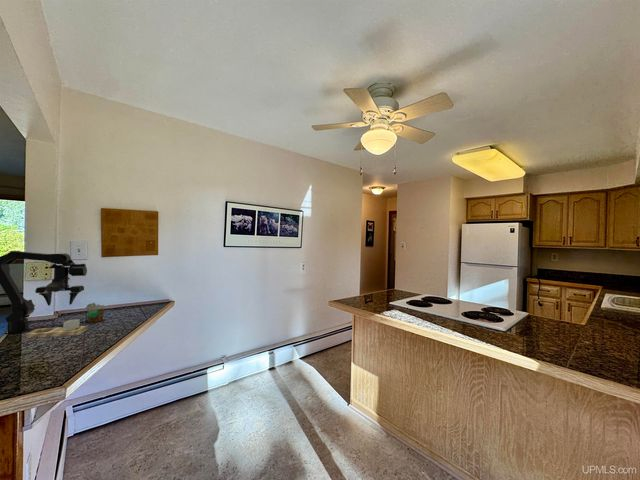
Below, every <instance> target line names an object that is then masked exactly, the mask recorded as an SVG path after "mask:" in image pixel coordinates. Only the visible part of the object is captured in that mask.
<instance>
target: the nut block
mask: <svg viewBox="0 0 640 480" xmlns="http://www.w3.org/2000/svg"><path fill="white" fill-rule="evenodd" d="M80 319H81V318H80ZM80 319H68V320H66V321H64V322H63V326H62V327H63V331H72V330H77V329H79V326H80Z"/></svg>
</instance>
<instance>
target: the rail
mask: <svg viewBox="0 0 640 480" xmlns="http://www.w3.org/2000/svg"><path fill="white" fill-rule="evenodd" d="M88 330H89V328H88V325H81V326H80V325H79V329H77V330H72V331H63V326H62V327H60V326H59V327H46V328H36V329H33V330H32V331H30V332H27V333H26V334H24V339H25V338H26V339H36V338H35V337H40V338H51V337H52V338H53V337H65V336H79V335H81V334H83V333H84V332H86V331H88Z"/></svg>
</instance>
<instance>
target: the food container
mask: <svg viewBox="0 0 640 480" xmlns="http://www.w3.org/2000/svg"><path fill="white" fill-rule="evenodd" d="M85 309H86V313H87V323H89V324H95V323H103V321H104V311H105V305H104V304H101V305H100V304H96V303H95V302H92V303H89V304H88V303H87V304H86V307H85Z"/></svg>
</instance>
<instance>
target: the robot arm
mask: <svg viewBox="0 0 640 480" xmlns="http://www.w3.org/2000/svg"><path fill="white" fill-rule="evenodd" d="M18 259H19V260H29V261H30V260H33V261H42V262H47V263H52V265H51V266H48V269H53V278H52V280H51V282H50V283H48V284H47V285H46V286H44V285H43V286H39V287H36V289H35V290H34V291H35V294H38V295H39V296H40V295H41V296H42V297H43V298H44V300H45V302H46V304H47V306H48V307H49V306H51V304H52V295H53V293H58V292H67V291H68V294H69V306H71V305H72V304H73V302H74V301H75V299H76V298H77V296H78V294H79V293H81V292H83V291H85V286H84V285H73V286H71V287H70V284H69V280H70V279H71V278H70V277H69V276H71V277H85V276H87V273H88V269H87V264H86V263H75V262H74V261H73V260H72V257H71V255H70V254H68V253H67V252H66V253H62V252H61V253H42V252H30V251H29V252H28V251H20V250H11V251H9V252H7V253H5V254H2V255H0V286H1V288H2V290H3V292H4V294H5V295H6V297H7V298H8V300H9V301H10V309H11V313H10V314H9V315H7V316H6V317H5V321H6V323H7V331H6V332H4V334H5V335H7V334H21V333H23V332H27V331H29V330H30V328H29V326H30V325H29V324H30V321H29V317H30V315H31V314H33V313H34V311H35V307H36V305H35V304H34V303H33V300H32V299H26V298H25V297H24V296H23V295H22V293H21V291H20V289H19V287H18V286H17V284H16V283H15V281H14V279H13V278H12V275H11V274H10V272H11V269H10V267H11V266H10V265H11V264H12V263H14V262H16V261H17V260H18ZM7 332H8V333H7ZM6 333H7V334H6Z"/></svg>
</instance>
